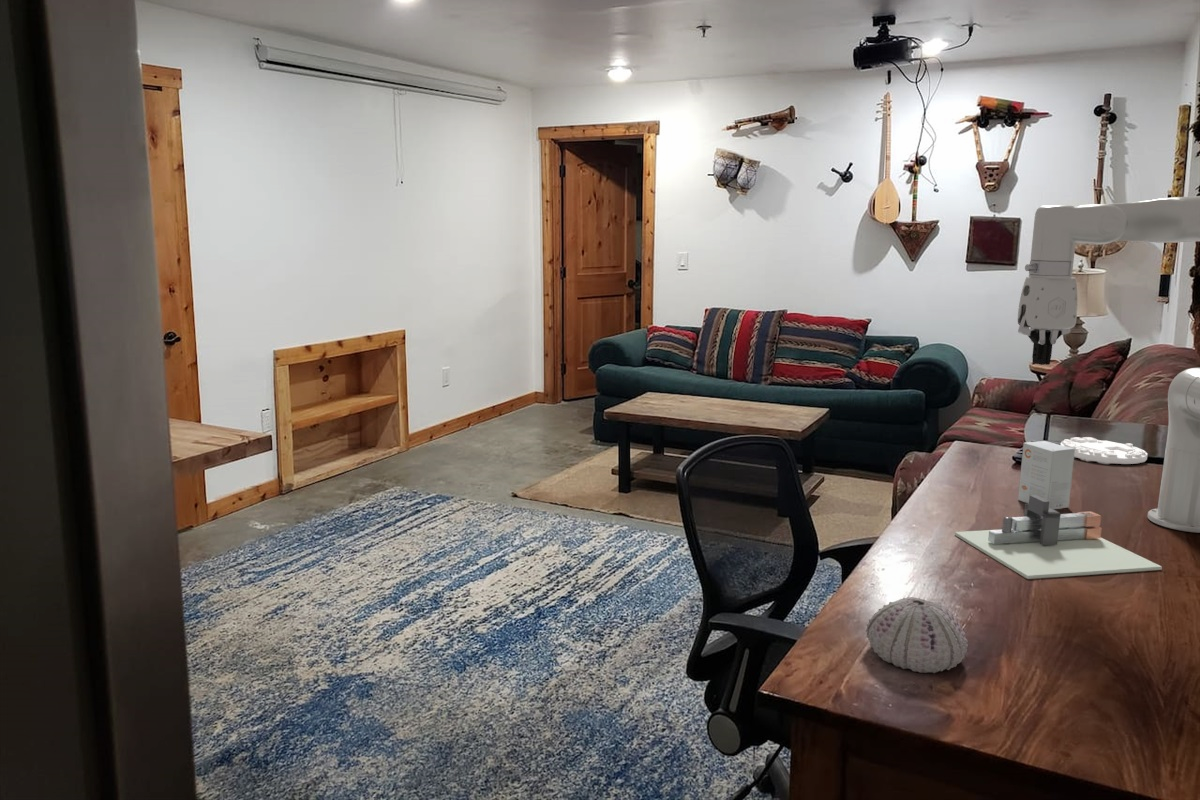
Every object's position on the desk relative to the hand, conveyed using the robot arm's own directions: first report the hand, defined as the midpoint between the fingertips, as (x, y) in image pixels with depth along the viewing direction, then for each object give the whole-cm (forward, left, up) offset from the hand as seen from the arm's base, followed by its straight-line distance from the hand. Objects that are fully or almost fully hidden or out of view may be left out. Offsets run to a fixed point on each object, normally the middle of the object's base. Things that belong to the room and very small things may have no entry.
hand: (1040, 363), depth 176 cm
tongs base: (+6, +14, -32) cm, 36 cm away
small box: (-10, -8, -32) cm, 35 cm away
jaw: (+4, +14, -29) cm, 32 cm away
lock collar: (+7, +14, -32) cm, 36 cm away
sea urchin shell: (+53, +51, -32) cm, 80 cm away
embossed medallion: (-53, -43, -33) cm, 76 cm away
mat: (+7, +18, -32) cm, 37 cm away
